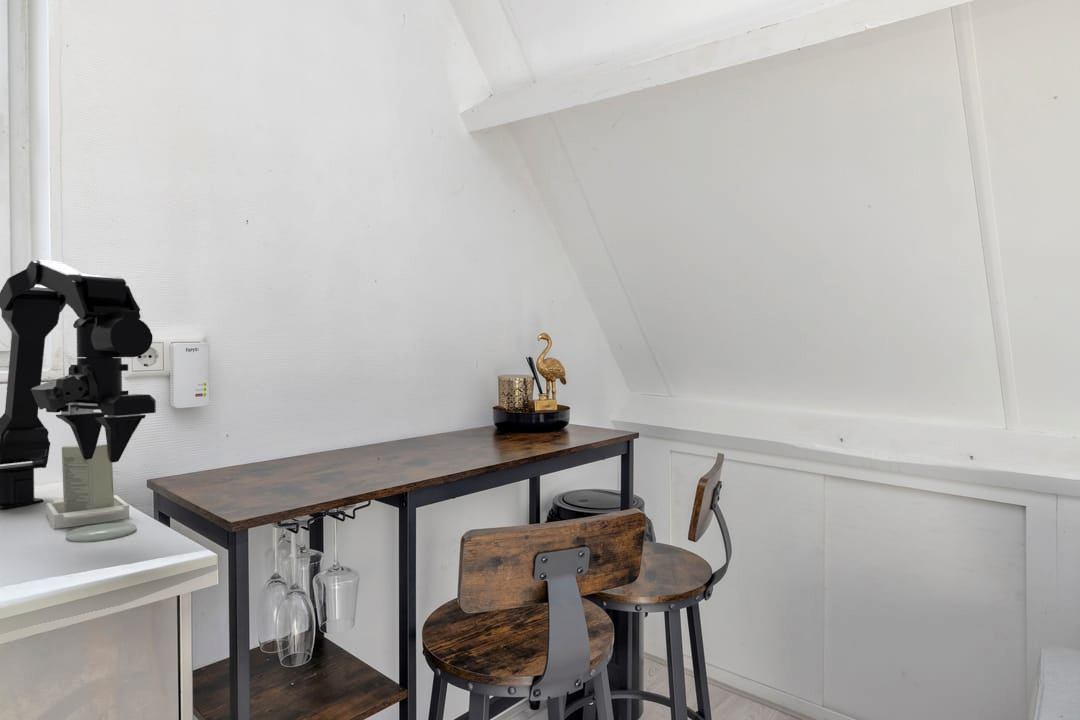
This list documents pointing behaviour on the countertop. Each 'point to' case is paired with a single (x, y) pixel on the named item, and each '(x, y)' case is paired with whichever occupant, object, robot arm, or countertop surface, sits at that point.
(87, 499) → the skincare box
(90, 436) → the robot arm
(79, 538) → the coaster
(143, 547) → the countertop surface
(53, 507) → the white rectangular tray
